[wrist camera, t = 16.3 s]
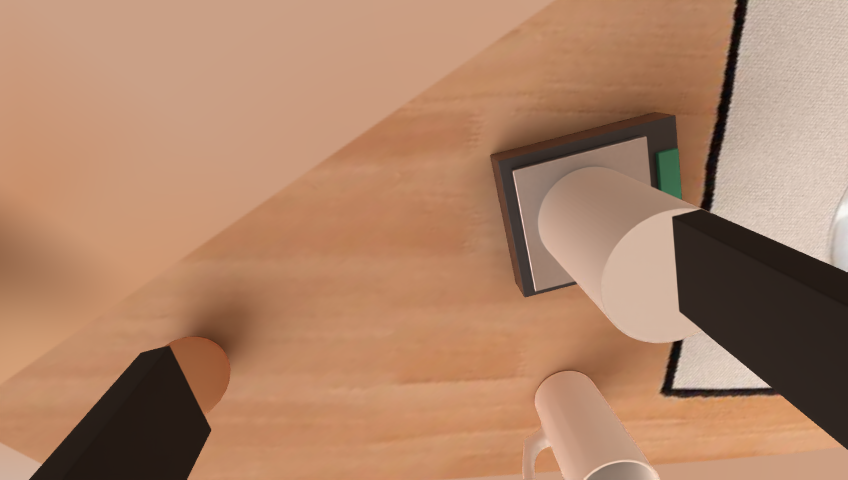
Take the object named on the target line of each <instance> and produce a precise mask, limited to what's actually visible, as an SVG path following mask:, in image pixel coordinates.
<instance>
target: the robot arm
mask: <svg viewBox="0 0 848 480" xmlns="http://www.w3.org/2000/svg"><path fill="white" fill-rule="evenodd" d="M672 225H673V238H674V251H675V264H676V277H677V290H678V303H679V312H681V313H682V314H683V315H684V316H685V317H687V318H688V319H689V320H690V321H692V322H693V323H694V324H695V325H696V326H698V327H699V328H700V329H701V330H702V331H704V332H705V333H706V334H707V335H709V336H710V337H711V338H712V339H713V340H715V341H716V342H717V343H718V344H719V345H721V346H722V347H723V348H724V349H726V350H727V351H728V352H729V353H730V354H732V355H733V356H734V357H735V358H737V359H738V360H739V361H740V362H741V363H743V364H744V365H745V366H746V367H747V368H749V369H750V370H751V371H752V372H754V373H755V374H756V375H757V376H758V377H760V378H761V379H762V380H763V381H765V382H766V383H767V384H768V385H769V386H771V387H772V388H773V389H774V390H775V391H777V392H778V393H779V394H780V395H782V396H783V397H784V398H785V399H786V400H788V401H789V402H790V403H791V404H793V405H794V406H795V407H796V408H797V409H799V410H800V411H801V412H802V413H803V414H805V415H806V416H807V417H808V418H810V419H811V420H812V421H813V422H814V423H816V424H817V425H818V426H819V427H821V428H822V429H823V430H824V431H825V432H827V433H828V434H829V435H830V436H831V437H833V438H834V439H835V440H836V441H838V442H839V443H840V444H841V445H842V446H844V447H845V448H846V449H847V450H848V272H845V271H843V270H841V269H839V268H836V267H834V266H832V265H829V264H827V263H825V262H822V261H820V260H818V259H816V258H813V257H811V256H809V255H806V254H804V253H802V252H799V251H797V250H795V249H793V248H790V247H788V246H786V245H783V244H781V243H779V242H777V241H774V240H772V239H770V238H767V237H765V236H763V235H760V234H758V233H756V232H754V231H751V230H749V229H747V228H744V227H742V226H740V225H738V224H735V223H733V222H731V221H728V220H726V219H724V218H721V217H719V216H717V215H715V214H712V213H710V212H708V211H705V210H703V209H699V210H695V211H691V212H688V213H684V214H680V215H676V216H672ZM210 432H211V428H210V426H209V424H208V422H207V420H206V418H205V416H204V414H203V412H202V410H201V408H200V406H199V404H198V402H197V400H196V398H195V396H194V394H193V392H192V390H191V388H190V386H189V384H188V381H187V379H186V377H185V375H184V373H183V371H182V369H181V367H180V365H179V363H178V361H177V359H176V357H175V355H174V353H173V351H172V349H171V347H170V345H169V346H165V347H161V348H158V349H154V350H150V351H146V352H142V353H140V354H139V356H138V357H137V358H136V359H135V360H134V361H133V362H132V363H131V365H130V366H129V367H128V368H127V369H126V370H125V371H124V373H123V374H122V375H121V376H120V377H119V378H118V379H117V380H116V382H115V383H114V384H113V385H112V386H111V387H110V388H109V390H108V391H107V392H106V393H105V394H104V395H103V396H102V397H101V399H100V400H99V401H98V402H97V403H96V404H95V405H94V407H93V408H92V409H91V410H90V411H89V412H88V413H87V414H86V416H85V417H84V418H83V419H82V420H81V421H80V422H79V424H78V425H77V426H76V427H75V428H74V429H73V430H72V432H71V433H70V434H69V435H68V436H67V437H66V438H65V439H64V441H63V442H62V443H61V444H60V445H59V446H58V447H57V449H56V450H55V451H54V452H53V453H52V454H51V455H50V456H49V458H48V459H47V460H46V461H45V462H44V463H43V464H42V466H41V467H40V468H39V469H38V470H37V471H36V472H35V473H34V475H33V476H32V477H31V478H30V479H29V480H187V478H188V476H189V474H190V472H191V470H192V468H193V466H194V464H195V462H196V460H197V458H198V456H199V454H200V452H201V450H202V448H203V446H204V444H205V442H206V440H207V438H208V436H209V434H210Z"/></svg>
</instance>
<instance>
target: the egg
mask: <svg viewBox="0 0 848 480" xmlns="http://www.w3.org/2000/svg"><path fill="white" fill-rule="evenodd" d="M169 345H170V347H171V349H172V351H173V353H174V355H175V357H176V359H177V361H178V363H179V365H180V367H181V369H182V371H183V373H184V375H185V377H186V379H187V381H188V384H189V386H190V388H191V390H192V392H193V394H194V396H195V398H196V400H197V402H198V404H199V406H200V408H201V410H202V412H203V414H204V415H205V414H206V413H208V412H209V411H210V410H211V409H212V408H213V407H214V406H215V405H216V404H217V403H218V402H219V401H220V400H221V398H222V396H223V395H224V393H225V391H226V389H227V386H228V384H229V379H230V364H229V361H228V358H227V355H226V354H225V353H224V351H223V350H222V348H221V347H220V346H219V345H218V344H216V343H215V342H213V341H211V340H209V339H206V338H202V337H196V336H194V337H185V338H181V339H178V340H175V341H173V342H171V343H169V344H167V345H166V346H169ZM164 347H165V346H164Z"/></svg>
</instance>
